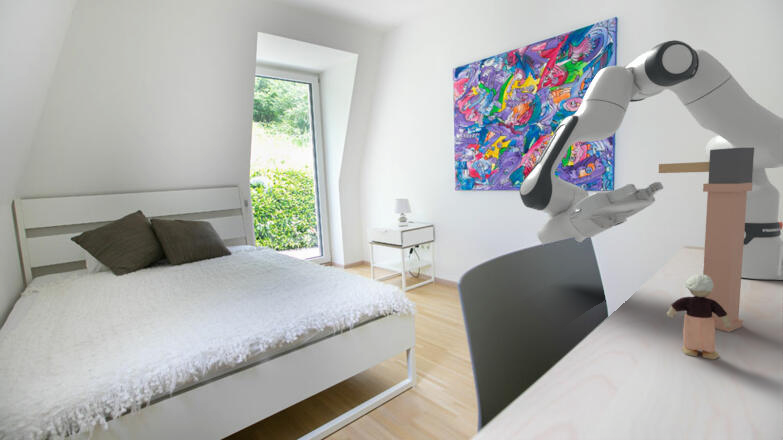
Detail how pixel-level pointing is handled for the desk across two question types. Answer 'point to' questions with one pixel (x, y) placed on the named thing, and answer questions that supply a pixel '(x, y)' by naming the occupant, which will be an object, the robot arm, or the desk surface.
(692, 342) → the grandmother figurine
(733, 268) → the stand
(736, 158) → the mallet
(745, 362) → the desk surface
